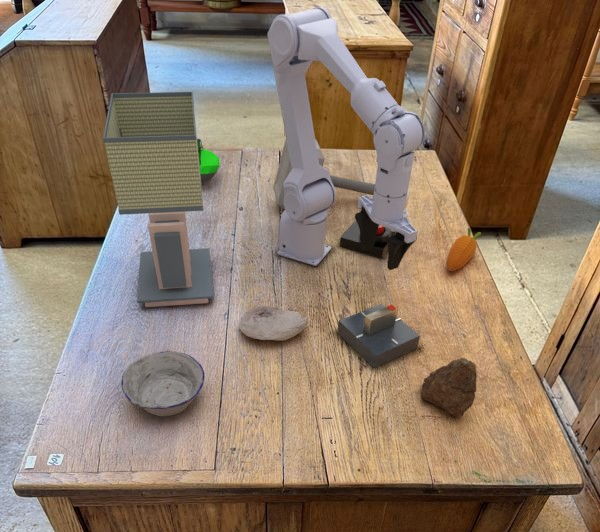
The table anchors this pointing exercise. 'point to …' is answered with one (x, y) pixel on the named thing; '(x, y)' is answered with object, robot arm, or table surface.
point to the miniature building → (207, 163)
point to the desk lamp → (160, 190)
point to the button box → (354, 241)
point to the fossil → (272, 323)
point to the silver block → (380, 320)
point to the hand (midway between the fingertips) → (380, 258)
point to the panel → (378, 338)
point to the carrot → (462, 251)
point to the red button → (380, 229)
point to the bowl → (163, 382)
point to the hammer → (337, 181)
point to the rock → (452, 386)
